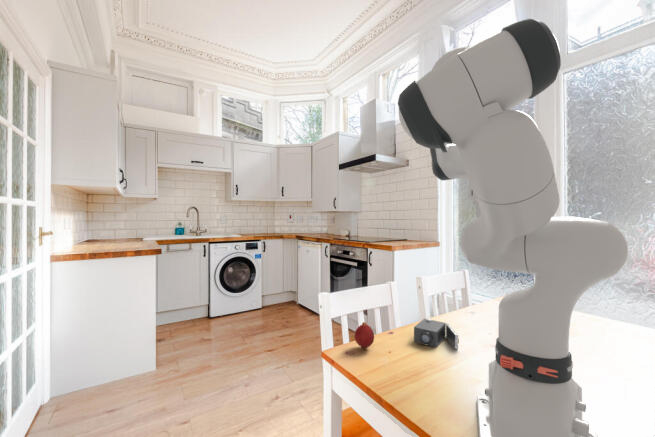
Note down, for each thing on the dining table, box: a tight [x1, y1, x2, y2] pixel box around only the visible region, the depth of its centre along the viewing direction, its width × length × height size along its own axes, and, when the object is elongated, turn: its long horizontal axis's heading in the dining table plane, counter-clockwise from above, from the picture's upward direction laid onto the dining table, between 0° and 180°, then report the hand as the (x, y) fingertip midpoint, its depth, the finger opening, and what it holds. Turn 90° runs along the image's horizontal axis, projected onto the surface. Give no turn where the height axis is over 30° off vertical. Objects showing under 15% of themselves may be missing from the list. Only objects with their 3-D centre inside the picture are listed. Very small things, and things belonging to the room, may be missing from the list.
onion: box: [354, 321, 375, 350], centre depth 87 cm, size 6×6×8 cm
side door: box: [445, 323, 460, 350], centre depth 91 cm, size 10×1×4 cm, turn 174°
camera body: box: [413, 318, 447, 348], centre depth 94 cm, size 12×7×5 cm, turn 144°
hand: (483, 239), depth 85 cm, fingers open, 8 cm apart
